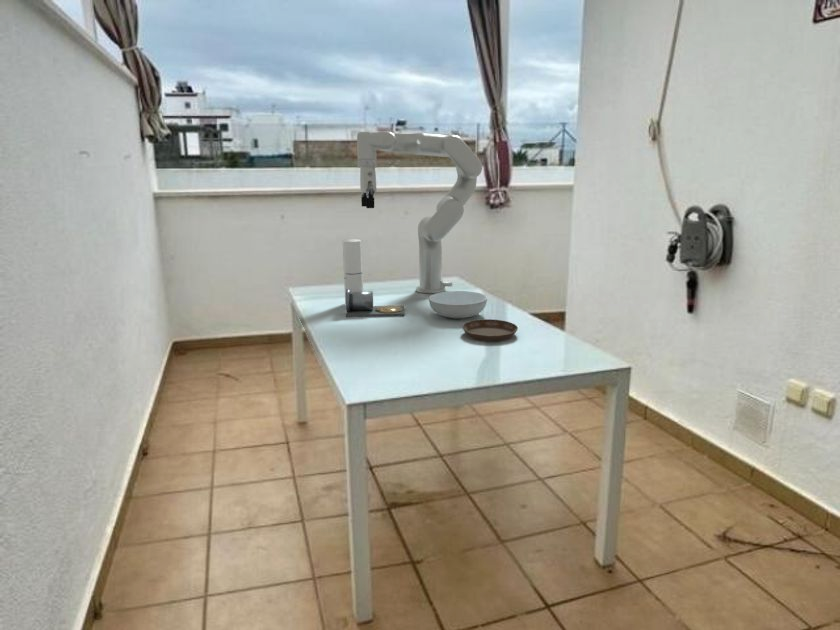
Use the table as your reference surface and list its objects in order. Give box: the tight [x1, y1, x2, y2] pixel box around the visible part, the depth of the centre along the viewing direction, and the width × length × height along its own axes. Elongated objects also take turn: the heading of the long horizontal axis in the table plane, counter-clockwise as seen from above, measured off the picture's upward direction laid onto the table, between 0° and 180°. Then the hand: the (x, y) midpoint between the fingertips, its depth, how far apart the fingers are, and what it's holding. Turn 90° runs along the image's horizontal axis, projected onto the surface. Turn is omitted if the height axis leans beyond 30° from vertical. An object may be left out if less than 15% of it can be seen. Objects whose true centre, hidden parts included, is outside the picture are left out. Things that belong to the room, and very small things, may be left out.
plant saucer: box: [461, 318, 519, 342], centre depth 190 cm, size 18×18×3 cm
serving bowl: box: [428, 290, 488, 320], centre depth 213 cm, size 21×21×7 cm
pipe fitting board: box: [345, 289, 405, 318], centre depth 218 cm, size 21×12×9 cm, turn 92°
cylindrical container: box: [342, 238, 364, 304], centre depth 229 cm, size 7×7×25 cm
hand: (367, 207), depth 241 cm, fingers open, 9 cm apart
